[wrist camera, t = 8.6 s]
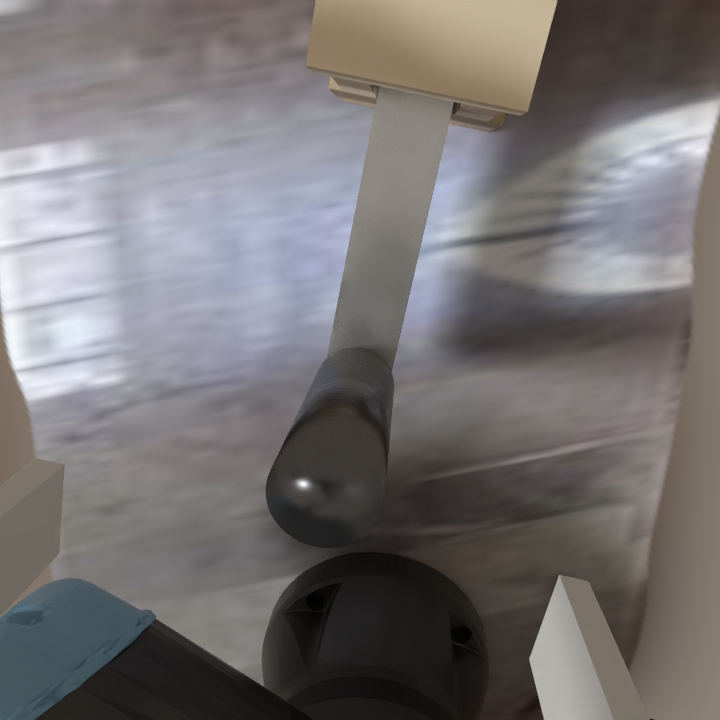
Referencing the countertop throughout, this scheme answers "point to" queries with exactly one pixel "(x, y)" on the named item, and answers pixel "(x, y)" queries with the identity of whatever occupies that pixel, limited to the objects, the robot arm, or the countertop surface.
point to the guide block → (434, 52)
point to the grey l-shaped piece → (363, 336)
